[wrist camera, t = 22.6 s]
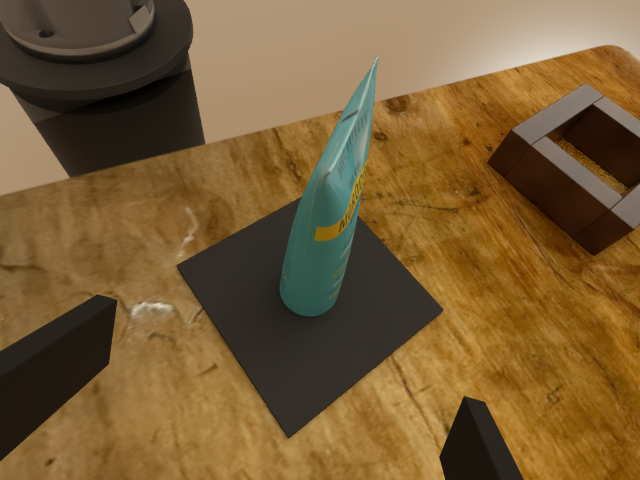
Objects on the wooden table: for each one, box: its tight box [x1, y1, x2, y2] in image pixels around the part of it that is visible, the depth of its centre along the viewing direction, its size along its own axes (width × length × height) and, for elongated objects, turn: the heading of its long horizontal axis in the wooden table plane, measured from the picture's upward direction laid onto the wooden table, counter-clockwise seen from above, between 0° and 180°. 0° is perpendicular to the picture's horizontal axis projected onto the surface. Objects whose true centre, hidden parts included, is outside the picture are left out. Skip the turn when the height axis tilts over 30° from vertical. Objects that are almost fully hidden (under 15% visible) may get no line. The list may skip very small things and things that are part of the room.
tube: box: [280, 56, 378, 317], centre depth 25 cm, size 7×5×19 cm, turn 166°
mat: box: [177, 197, 443, 438], centre depth 33 cm, size 16×16×1 cm
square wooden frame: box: [487, 83, 640, 255], centre depth 42 cm, size 14×14×5 cm
